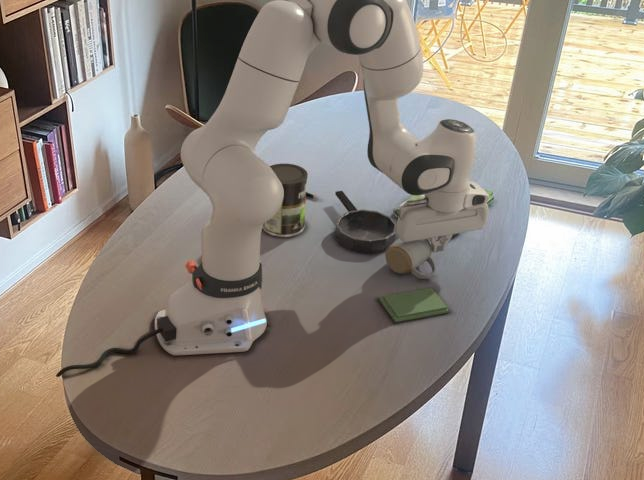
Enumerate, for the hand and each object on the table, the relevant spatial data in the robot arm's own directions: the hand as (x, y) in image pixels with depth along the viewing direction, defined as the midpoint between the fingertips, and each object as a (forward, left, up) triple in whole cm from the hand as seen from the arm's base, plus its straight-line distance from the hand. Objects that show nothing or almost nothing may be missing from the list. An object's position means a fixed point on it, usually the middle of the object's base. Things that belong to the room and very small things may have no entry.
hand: (437, 250), depth 180 cm
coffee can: (-27, +26, -4) cm, 38 cm away
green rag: (-11, -12, -4) cm, 17 cm away
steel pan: (-10, +21, -4) cm, 24 cm away
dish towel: (+14, +23, -4) cm, 27 cm away
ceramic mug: (-5, 0, -4) cm, 7 cm away
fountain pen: (-19, +41, -5) cm, 45 cm away
